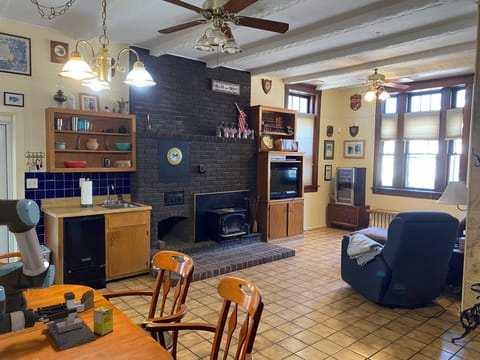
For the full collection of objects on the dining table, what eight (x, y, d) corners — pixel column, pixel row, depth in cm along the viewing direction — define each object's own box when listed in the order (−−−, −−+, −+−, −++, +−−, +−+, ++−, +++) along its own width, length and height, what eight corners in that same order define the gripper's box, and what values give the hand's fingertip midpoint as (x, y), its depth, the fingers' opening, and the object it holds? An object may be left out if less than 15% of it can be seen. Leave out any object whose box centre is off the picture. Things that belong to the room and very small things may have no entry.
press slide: (56, 328, 159) (55, 294, 158) (79, 322, 166) (79, 289, 165) (58, 333, 155) (58, 298, 155) (83, 326, 162) (82, 293, 161)
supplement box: (113, 331, 163) (113, 307, 162) (102, 336, 157) (102, 312, 157) (104, 328, 166) (104, 304, 165) (93, 333, 160) (93, 309, 160)
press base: (47, 328, 164) (46, 317, 164) (79, 320, 173) (79, 309, 173) (60, 350, 146) (60, 338, 146) (95, 339, 155) (95, 328, 155)
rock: (76, 311, 178) (97, 304, 183) (72, 294, 181) (93, 288, 187) (75, 317, 186) (95, 310, 191) (71, 301, 189) (91, 295, 195)
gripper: (19, 321, 155) (76, 307, 170) (26, 336, 142) (88, 320, 157) (19, 304, 155) (76, 292, 170) (26, 318, 142) (88, 303, 157)
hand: (82, 305), depth 163 cm, fingers closed on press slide, 4 cm apart
